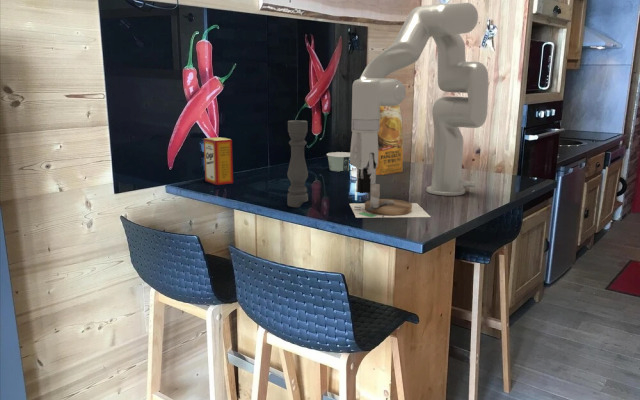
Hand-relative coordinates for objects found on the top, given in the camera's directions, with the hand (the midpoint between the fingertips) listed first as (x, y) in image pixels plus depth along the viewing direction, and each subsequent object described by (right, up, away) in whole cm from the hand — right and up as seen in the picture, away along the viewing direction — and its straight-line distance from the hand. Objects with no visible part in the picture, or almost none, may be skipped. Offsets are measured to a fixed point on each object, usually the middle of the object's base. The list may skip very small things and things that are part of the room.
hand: (363, 192), depth 150 cm
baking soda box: (-49, +4, +47) cm, 68 cm away
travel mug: (+3, 0, +30) cm, 30 cm away
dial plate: (+7, -6, +1) cm, 9 cm away
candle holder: (-19, -4, +12) cm, 23 cm away
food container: (-3, +10, +75) cm, 76 cm away
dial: (+6, -5, -1) cm, 8 cm away
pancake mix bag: (+15, +9, +68) cm, 70 cm away
